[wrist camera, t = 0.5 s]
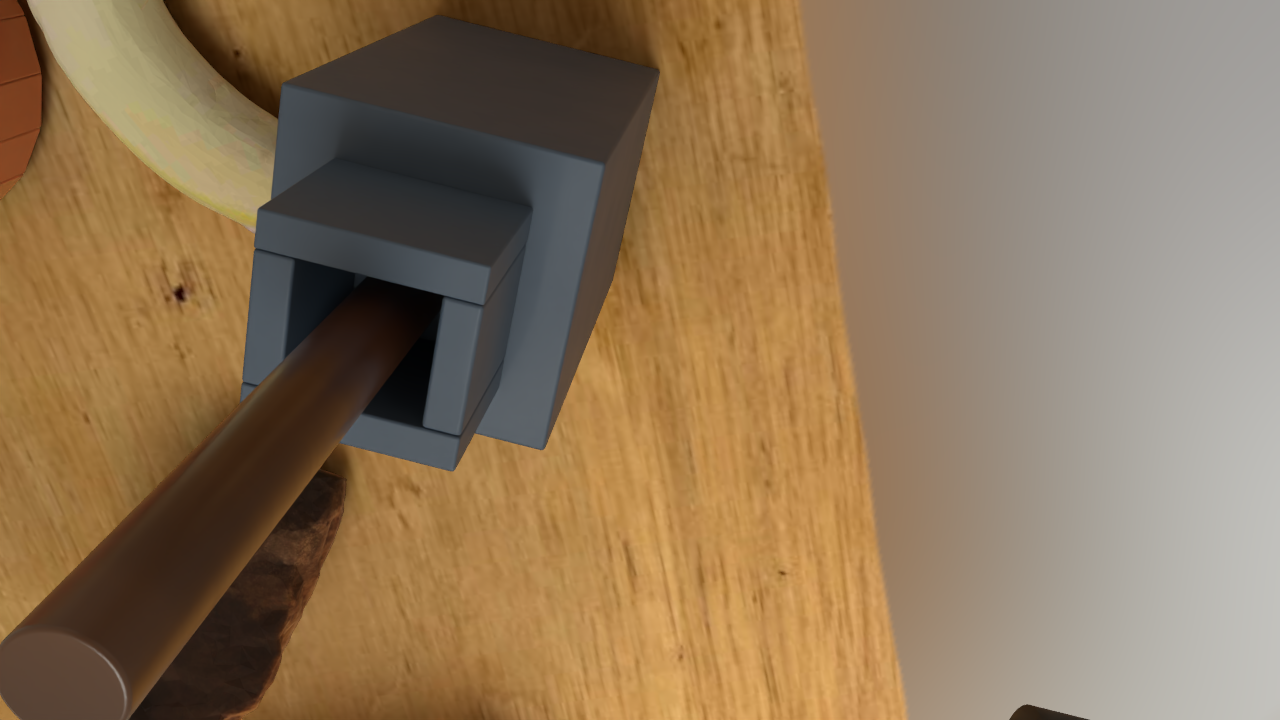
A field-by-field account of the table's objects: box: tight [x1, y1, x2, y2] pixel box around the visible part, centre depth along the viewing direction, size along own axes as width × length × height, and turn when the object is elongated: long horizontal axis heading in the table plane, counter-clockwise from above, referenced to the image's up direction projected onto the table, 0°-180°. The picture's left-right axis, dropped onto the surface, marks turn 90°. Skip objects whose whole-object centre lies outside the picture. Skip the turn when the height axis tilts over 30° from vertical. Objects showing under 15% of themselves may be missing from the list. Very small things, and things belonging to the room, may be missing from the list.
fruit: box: [27, 0, 278, 233], centre depth 35 cm, size 7×15×3 cm, turn 20°
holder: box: [240, 15, 660, 471], centre depth 29 cm, size 7×7×16 cm
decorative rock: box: [128, 469, 347, 720], centre depth 39 cm, size 12×6×11 cm, turn 154°
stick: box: [0, 276, 444, 720], centre depth 19 cm, size 2×2×14 cm
